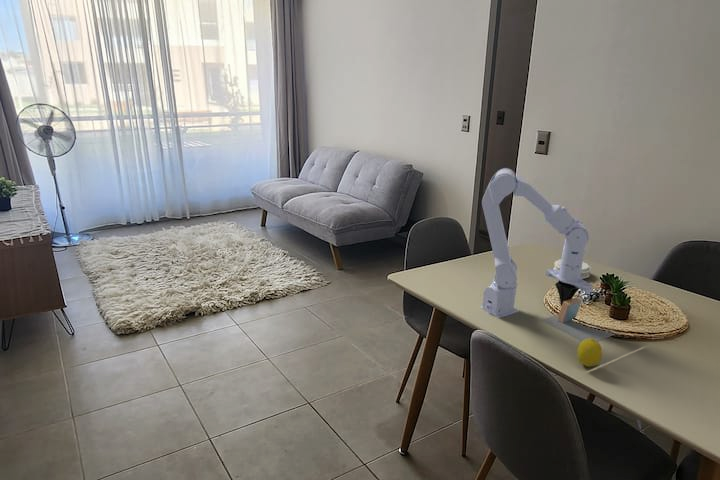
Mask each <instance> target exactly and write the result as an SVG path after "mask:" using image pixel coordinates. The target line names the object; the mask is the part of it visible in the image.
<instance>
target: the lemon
mask: <svg viewBox="0 0 720 480" xmlns="http://www.w3.org/2000/svg"><path fill="white" fill-rule="evenodd" d="M576 356H577V359H578V360H579V362H580V364H582V365H584V366H585V367H595V366H596V365H598V364H599V363H600V362H601V359H602V356H603V348H602V345H601V344H600V343H599V341H598V342H597V341H596V340H594V339H593V338H591V339H585V340H583V341H580V343H579V345H578V347H577V351H576Z"/></svg>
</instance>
